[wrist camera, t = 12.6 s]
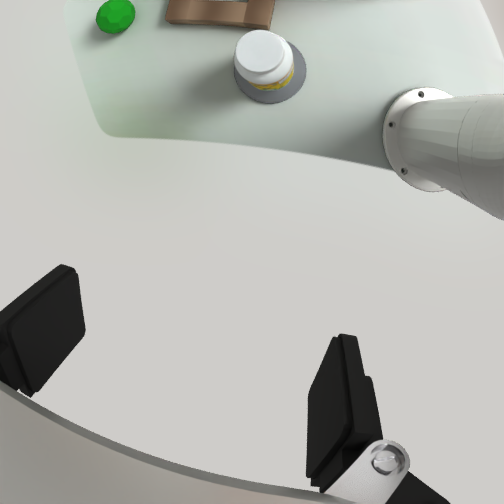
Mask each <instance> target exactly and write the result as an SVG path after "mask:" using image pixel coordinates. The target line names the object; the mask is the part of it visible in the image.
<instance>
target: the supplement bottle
mask: <svg viewBox="0 0 504 504" xmlns="http://www.w3.org/2000/svg"><path fill="white" fill-rule="evenodd" d="M234 63H235V67H236V69H237V71H238V72H239V74H240V75H241V76H242V77H243V78H244V79H246V80H247V81H248V82H249V83H250V84H252V85H253V86H254V87H256V88H258V89H260V90H264V91H275V90H279V89H281V88H283V87H285V86H286V85H287V84H288V83H289V82H290V80H291V79H292V76H293V73H294V62H293V54H292V50H291V48H290V46H289V44H288V43H287V42H286V41H285V40H284V39H283V38H282V37H280V36H279V35H277V34H274V33H272V32H269V31H266V30H254V31H250V32H248V33H246V34H245V35H243V36H242V37H241V38H240V40H239V41H238V43H237V45H236V49H235V53H234Z"/></svg>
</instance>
